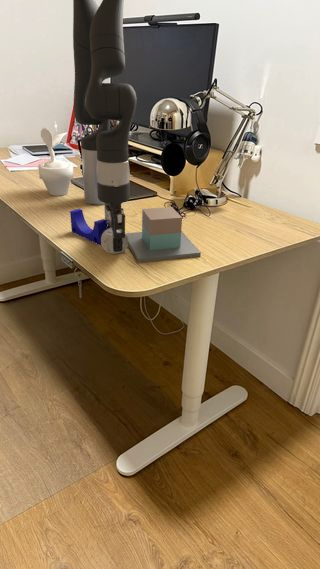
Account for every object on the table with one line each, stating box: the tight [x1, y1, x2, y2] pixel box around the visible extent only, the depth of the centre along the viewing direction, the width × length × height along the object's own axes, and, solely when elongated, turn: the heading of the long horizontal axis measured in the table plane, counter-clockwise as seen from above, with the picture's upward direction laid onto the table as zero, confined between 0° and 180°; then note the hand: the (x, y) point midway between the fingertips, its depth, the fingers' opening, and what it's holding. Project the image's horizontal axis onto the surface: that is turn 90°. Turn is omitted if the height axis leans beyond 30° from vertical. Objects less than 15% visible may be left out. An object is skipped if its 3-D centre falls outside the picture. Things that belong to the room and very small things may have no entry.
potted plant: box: [37, 120, 74, 197], centre depth 134 cm, size 13×12×25 cm
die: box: [100, 228, 129, 255], centre depth 100 cm, size 5×5×5 cm
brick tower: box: [126, 206, 202, 263], centre depth 102 cm, size 16×16×9 cm
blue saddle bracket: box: [69, 208, 107, 245], centre depth 107 cm, size 12×4×6 cm, turn 46°
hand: (114, 244), depth 100 cm, fingers closed on die, 7 cm apart
